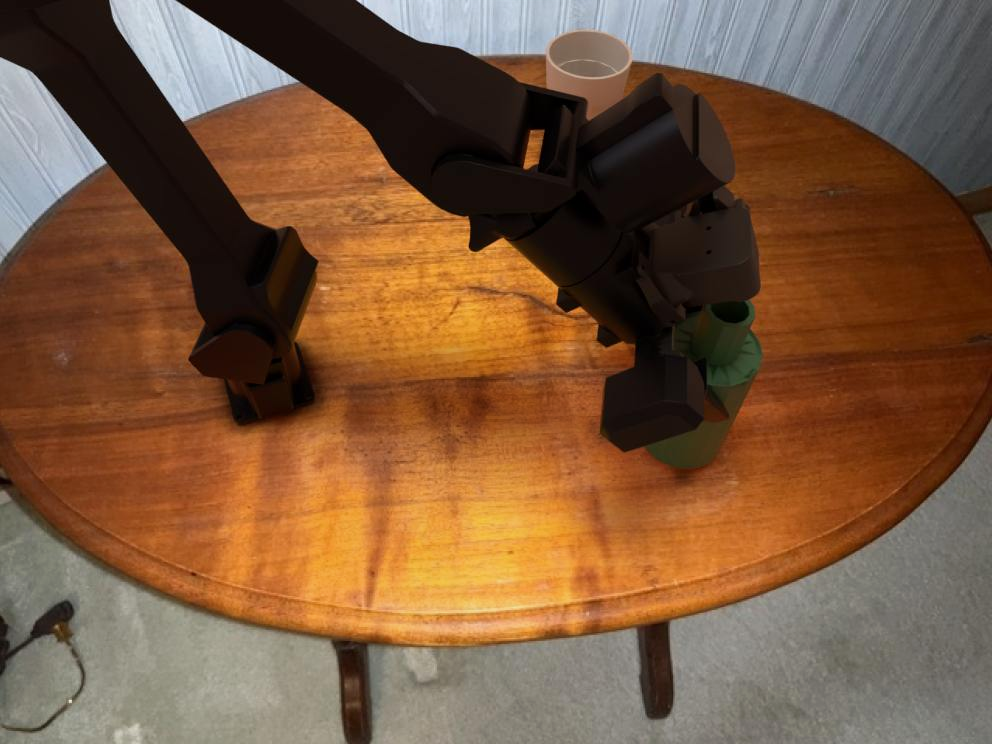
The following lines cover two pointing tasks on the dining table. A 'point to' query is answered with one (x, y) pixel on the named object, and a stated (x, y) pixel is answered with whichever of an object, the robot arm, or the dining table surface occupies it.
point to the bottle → (714, 376)
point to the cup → (589, 67)
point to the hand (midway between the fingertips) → (722, 379)
